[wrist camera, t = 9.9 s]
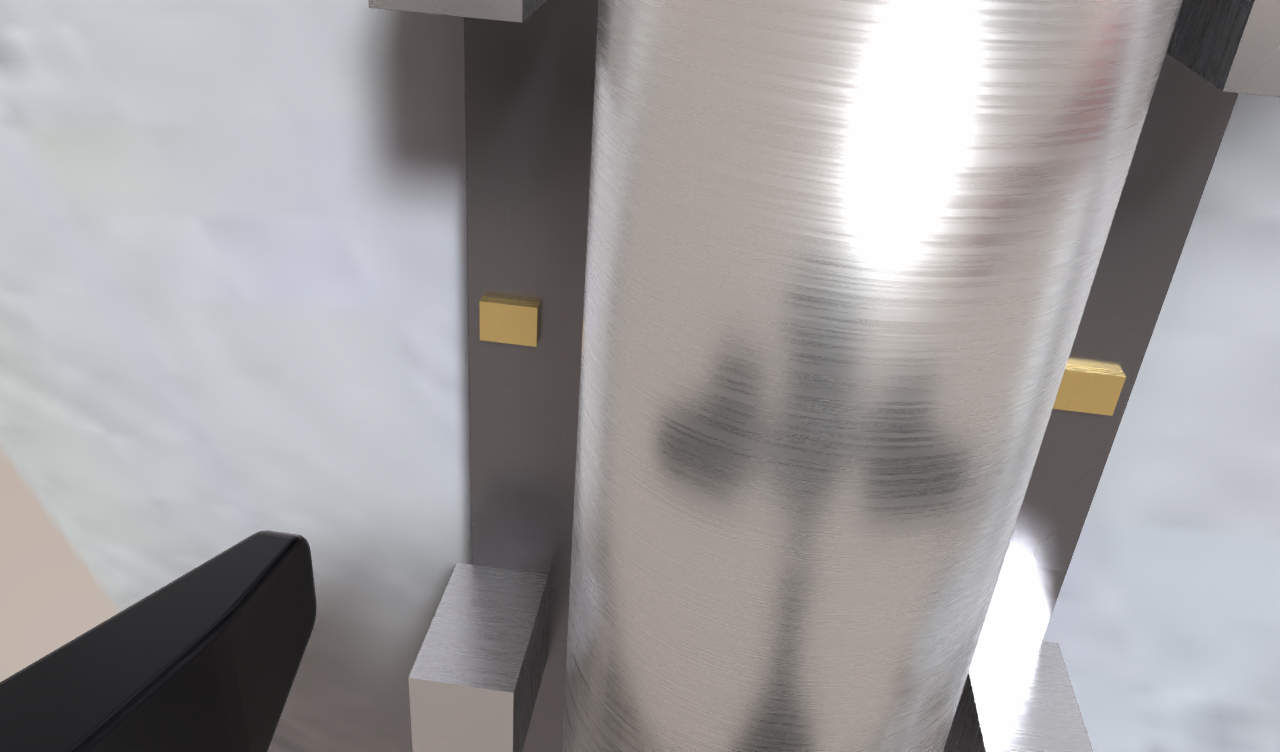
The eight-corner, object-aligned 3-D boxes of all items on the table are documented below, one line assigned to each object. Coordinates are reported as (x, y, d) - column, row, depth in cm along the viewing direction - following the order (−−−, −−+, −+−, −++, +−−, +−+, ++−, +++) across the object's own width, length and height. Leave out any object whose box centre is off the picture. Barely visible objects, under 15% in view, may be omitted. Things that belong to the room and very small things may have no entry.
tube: (662, -388, 10) (558, -518, 6) (1182, -353, 10) (1476, -465, 6) (587, 729, 18) (520, 1019, 14) (873, 775, 18) (894, 1088, 14)
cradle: (966, 818, 20) (1000, 1007, 17) (475, 746, 20) (421, 914, 17) (1457, -580, 10) (1768, -750, 7) (457, -635, 10) (320, -813, 7)
